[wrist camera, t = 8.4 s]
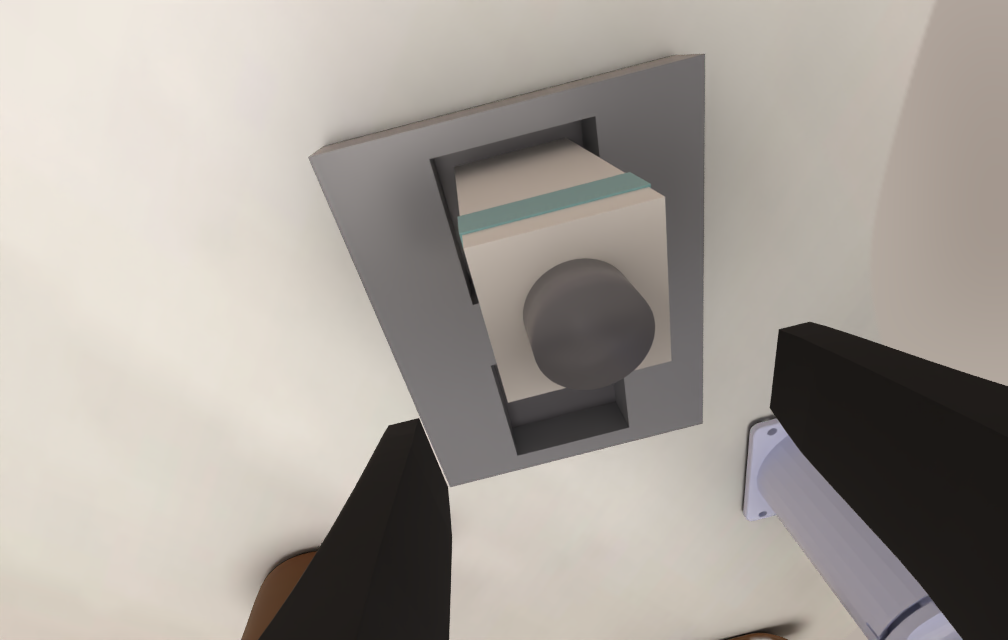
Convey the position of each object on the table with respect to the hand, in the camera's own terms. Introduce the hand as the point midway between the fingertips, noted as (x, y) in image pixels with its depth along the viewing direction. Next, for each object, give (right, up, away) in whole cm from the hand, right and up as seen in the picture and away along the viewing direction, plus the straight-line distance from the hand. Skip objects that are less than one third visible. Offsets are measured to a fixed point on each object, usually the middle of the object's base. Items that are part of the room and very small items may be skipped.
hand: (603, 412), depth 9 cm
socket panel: (-1, +3, +10) cm, 10 cm away
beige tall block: (-1, +6, +8) cm, 10 cm away
